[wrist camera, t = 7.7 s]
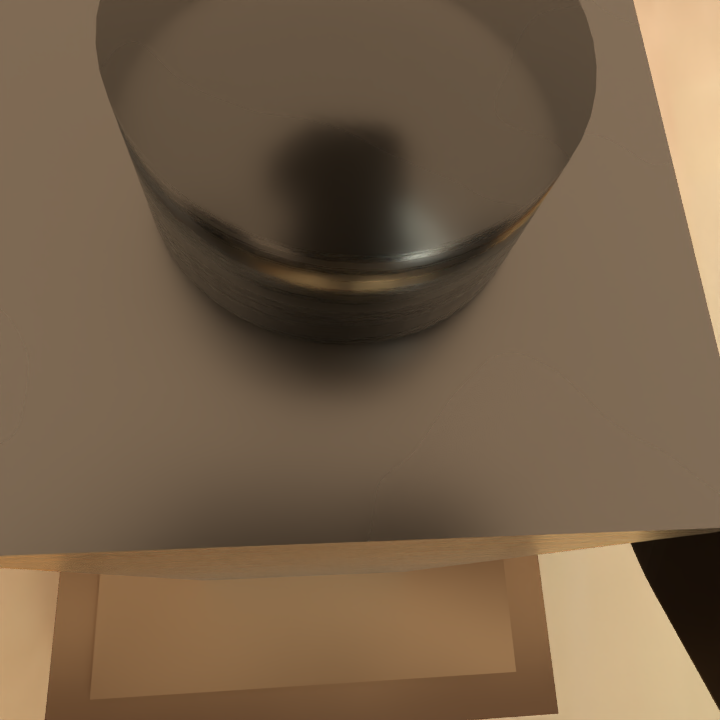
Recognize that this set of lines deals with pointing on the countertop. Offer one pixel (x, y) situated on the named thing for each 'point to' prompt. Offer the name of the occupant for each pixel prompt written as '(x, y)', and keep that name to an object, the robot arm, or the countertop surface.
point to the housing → (342, 289)
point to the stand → (304, 646)
